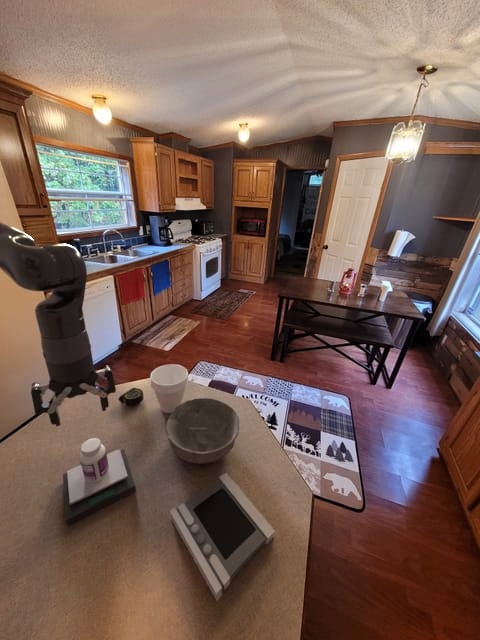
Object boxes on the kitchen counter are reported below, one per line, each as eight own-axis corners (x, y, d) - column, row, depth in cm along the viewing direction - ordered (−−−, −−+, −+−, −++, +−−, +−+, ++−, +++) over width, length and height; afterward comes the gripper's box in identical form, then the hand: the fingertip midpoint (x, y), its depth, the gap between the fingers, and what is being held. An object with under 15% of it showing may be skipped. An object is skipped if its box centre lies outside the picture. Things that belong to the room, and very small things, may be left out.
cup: (195, 401, 93) (195, 370, 87) (174, 424, 82) (172, 390, 77) (168, 390, 97) (166, 360, 92) (144, 411, 87) (141, 378, 81)
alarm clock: (169, 511, 56) (227, 464, 65) (171, 522, 58) (227, 476, 68) (216, 593, 44) (277, 522, 54) (217, 604, 46) (275, 534, 56)
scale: (68, 527, 54) (64, 516, 53) (64, 480, 63) (61, 471, 62) (135, 491, 62) (134, 482, 61) (124, 455, 71) (123, 445, 70)
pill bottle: (104, 459, 66) (99, 431, 62) (112, 473, 62) (107, 445, 58) (81, 472, 62) (74, 443, 58) (88, 488, 59) (81, 459, 55)
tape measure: (134, 393, 94) (134, 384, 93) (148, 400, 92) (147, 391, 90) (118, 403, 89) (117, 395, 87) (132, 411, 86) (131, 402, 85)
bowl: (251, 457, 73) (254, 431, 69) (185, 496, 62) (184, 468, 58) (215, 412, 89) (216, 389, 85) (157, 437, 77) (155, 411, 73)
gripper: (105, 336, 56) (114, 395, 62) (22, 351, 48) (41, 416, 54) (112, 352, 50) (120, 414, 56) (18, 371, 42) (40, 442, 49)
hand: (81, 415), depth 55 cm, fingers open, 8 cm apart
